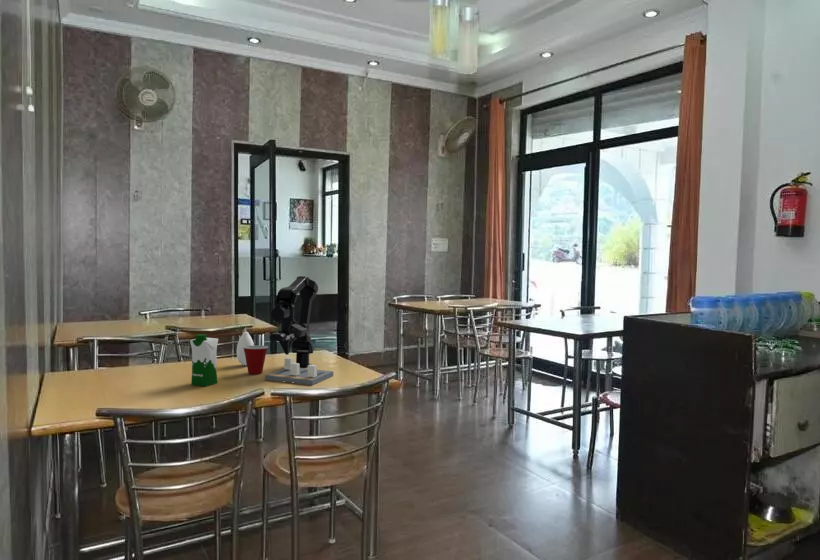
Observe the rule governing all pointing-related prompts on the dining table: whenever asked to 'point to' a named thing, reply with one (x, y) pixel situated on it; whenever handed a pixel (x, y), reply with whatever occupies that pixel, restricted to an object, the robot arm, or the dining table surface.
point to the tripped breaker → (288, 363)
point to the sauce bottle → (243, 341)
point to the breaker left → (312, 371)
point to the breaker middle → (295, 369)
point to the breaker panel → (299, 376)
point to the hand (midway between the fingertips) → (287, 354)
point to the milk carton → (204, 360)
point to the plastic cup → (255, 358)
